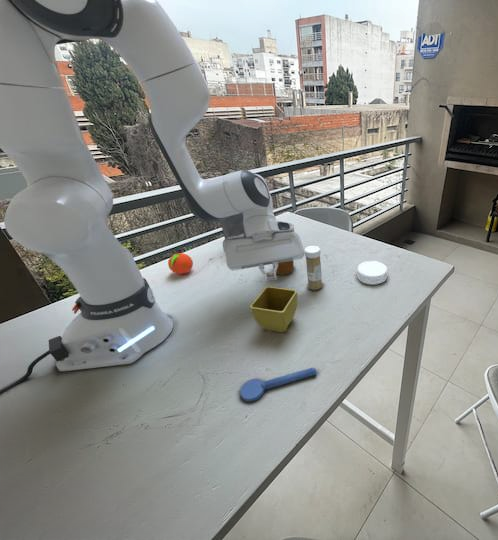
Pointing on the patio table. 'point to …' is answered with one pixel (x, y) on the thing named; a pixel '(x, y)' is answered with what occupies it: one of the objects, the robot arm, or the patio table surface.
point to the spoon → (270, 384)
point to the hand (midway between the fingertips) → (271, 279)
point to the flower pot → (275, 308)
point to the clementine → (180, 263)
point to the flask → (233, 225)
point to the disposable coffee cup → (285, 267)
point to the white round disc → (372, 272)
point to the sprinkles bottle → (313, 267)
